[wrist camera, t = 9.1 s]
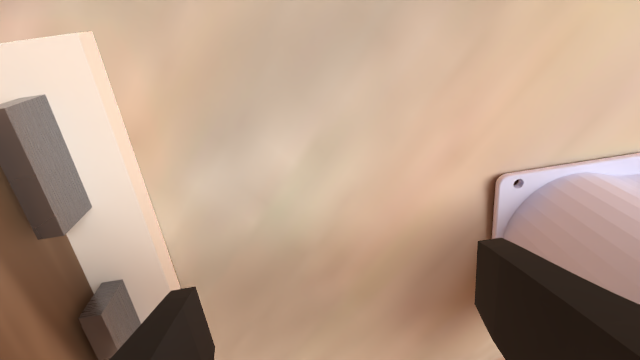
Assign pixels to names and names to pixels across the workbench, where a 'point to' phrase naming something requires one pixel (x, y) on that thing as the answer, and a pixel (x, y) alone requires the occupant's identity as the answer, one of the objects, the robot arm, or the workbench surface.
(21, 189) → the hinge clips
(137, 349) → the robot arm
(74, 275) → the brown wooden block
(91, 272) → the cabinet panel
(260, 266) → the workbench surface
